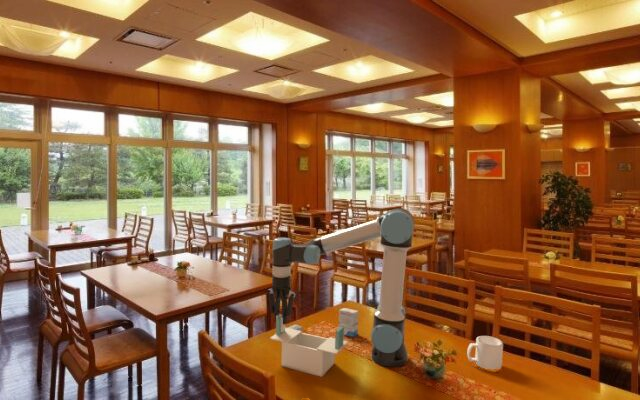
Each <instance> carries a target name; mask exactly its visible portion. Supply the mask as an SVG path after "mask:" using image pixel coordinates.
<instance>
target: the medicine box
mask: <svg viewBox="0 0 640 400" xmlns="http://www.w3.org/2000/svg"><path fill="white" fill-rule="evenodd" d="M287 328H289V329H294V330H299V331H302V332H303V326H301V325H298V324H293V325H290V326H287Z"/></svg>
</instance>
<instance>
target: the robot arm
mask: <svg viewBox="0 0 640 400" xmlns="http://www.w3.org/2000/svg"><path fill="white" fill-rule="evenodd" d="M414 227H415V218H414V216H413V215H412V213H411V212H410V211H409V210H407V209H406V208H402V207H398V208H394V209H391V210H389V211H388V212H386V213H384V214H381V215H378V216H377V217H376V218H375V219H372V220H369V221H367V222H364V223H360V224H357V225H354V226H351V227H348V228H345V229H342V230H339V231H334V232H332V233H329V234H326V235H322V236H320V237H317V238H312V239H309V240H308V241H307V242H305V243H303V244H299V243H292V239H291V238H289V237H276V238H275V239H273V242H272V249H271V250H272V270H271V271H272V273H271V274H272V277H271V279H272V280H271V281H272V282H271V284H272V286H271V288H269V289H266V294H267V295H268V303H269V311H270V313H271V314H273V315H274V322H275V323H276V318H278V317H279V316H281V315H282V316H281V331H280V332H283V331H285V328H286V324H287V323H288V317H289V316H290V315H292V312H293V307H294V301H295V297H296V296H297V292H294V291H292V289H291V278H292V277H291V271H292V270H291V269H292V267H291V265H292V263H297V264H307V265H316V264H318V263H319V262H320V258H321V256H322V255H326V254H329V253H332V252H335V251H338V250H339V251H340V250H343V249H345V248H349V247H353V246H356V245H358V244H362V243H365V242H368V241H372V240H375V239H378V238H380V245H381V247H382V248H383V259H382V268H381V277H380V278H381V279H380V290H379V291H380V292H379V300H378V305H377V308H376V310H375V311H374V313H373V325H372V330H371V333H370V339H371V343H372V345H373V347H372V349H371V359H372V361H373V362H375V364H378V365H380V366H383V367H386V368H387V367H388V368H398V367H403V366H405V365H407V363H408V359H409V358H408V356H409V355H408V351H407V348H406V344H405V330H406V329H405V328H406V309H405V307H404V306H403V305H402V304H403V296H404V295H403V294H404V285H405V274H406V265H407V263H406V262H407V256H408V255H407V254H408V253H407V252H408V250H409V251H410V249H411V248H412V244H413V233H414V229H415V228H414Z"/></svg>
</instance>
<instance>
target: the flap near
mask: <svg viewBox="0 0 640 400" xmlns="http://www.w3.org/2000/svg"><path fill="white" fill-rule="evenodd" d="M334 333H335V334H334V335H335V337H331V336H330V337H327V338H328V339H327V340H326V341H325V342H324V343H323V344H321V345H320V346H319V347H318V348H317V350H318V351H322V352H327V353H331V354H335V356H337V355H338V354H339V353H340V352H341V351H342V350H343V349H344V348H345V347H346V345H348V343H349V341H347V340H344V337H345V335H344V327H341V326H340V327H339V326H338V328H336V330H335V332H334Z"/></svg>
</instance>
